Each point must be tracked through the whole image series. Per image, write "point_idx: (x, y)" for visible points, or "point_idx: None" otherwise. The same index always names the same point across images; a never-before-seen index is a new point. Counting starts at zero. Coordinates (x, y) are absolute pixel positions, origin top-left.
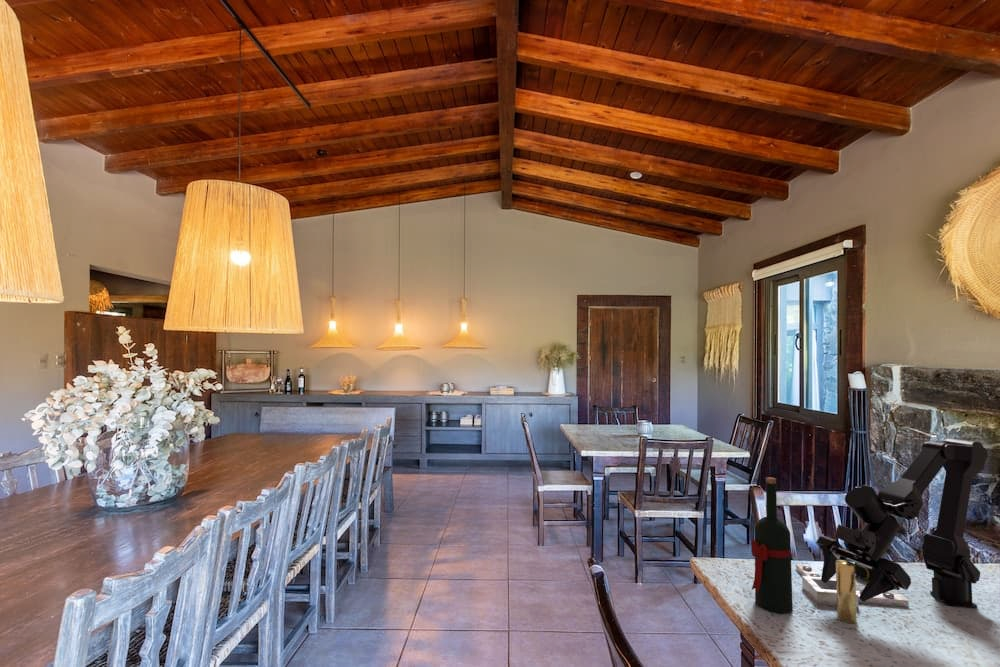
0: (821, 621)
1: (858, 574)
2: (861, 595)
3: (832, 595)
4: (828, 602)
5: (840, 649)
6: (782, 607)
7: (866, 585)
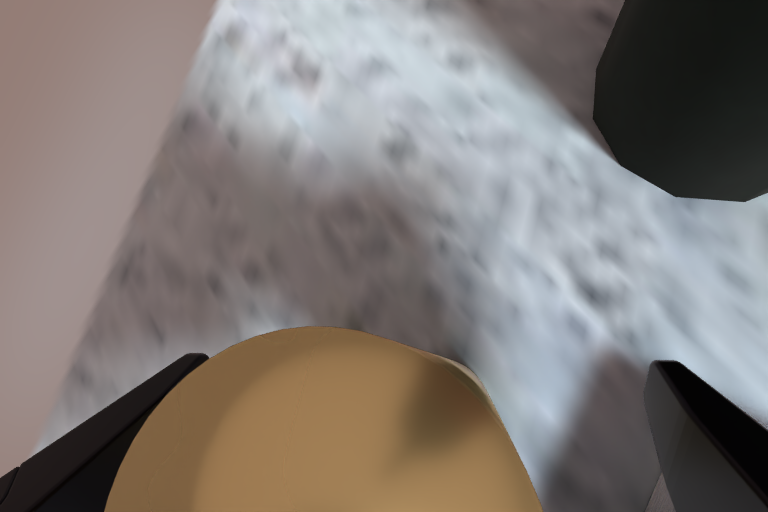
0: (464, 234)
1: None
2: (174, 366)
3: None
4: (659, 501)
5: (238, 108)
6: (607, 55)
7: (76, 458)
